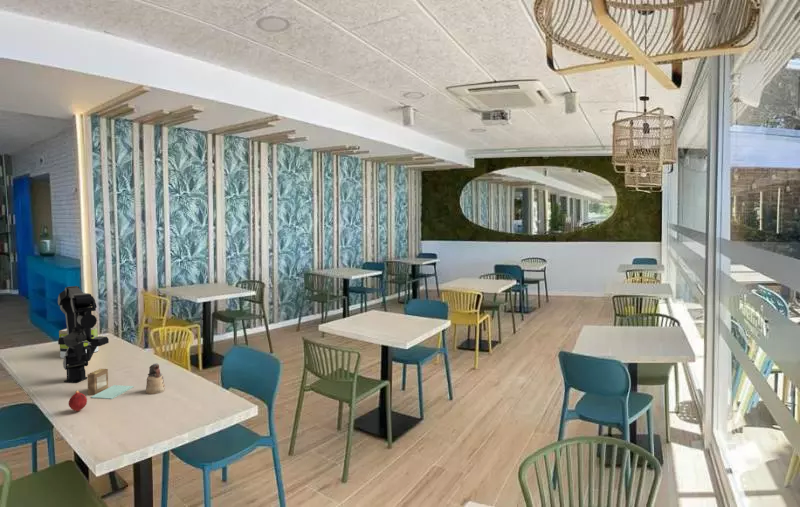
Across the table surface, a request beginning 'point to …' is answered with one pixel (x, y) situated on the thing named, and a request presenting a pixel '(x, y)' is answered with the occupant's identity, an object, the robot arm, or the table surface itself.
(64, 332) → the tea box
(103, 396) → the mat
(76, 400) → the onion
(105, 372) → the menu stand
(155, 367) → the figurine
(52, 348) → the table surface
